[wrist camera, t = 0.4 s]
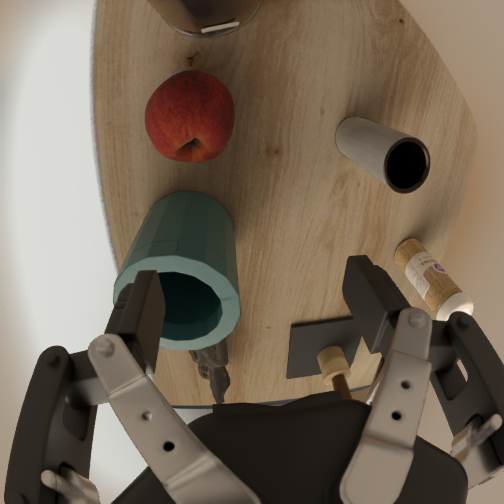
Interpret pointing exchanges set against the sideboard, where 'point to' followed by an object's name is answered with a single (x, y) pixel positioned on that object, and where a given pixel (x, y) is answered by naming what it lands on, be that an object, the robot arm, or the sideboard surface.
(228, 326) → the jar
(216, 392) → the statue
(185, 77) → the apple
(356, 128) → the grey hollow cylinder
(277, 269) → the sideboard surface
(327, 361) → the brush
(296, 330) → the mat
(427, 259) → the spice bottle
